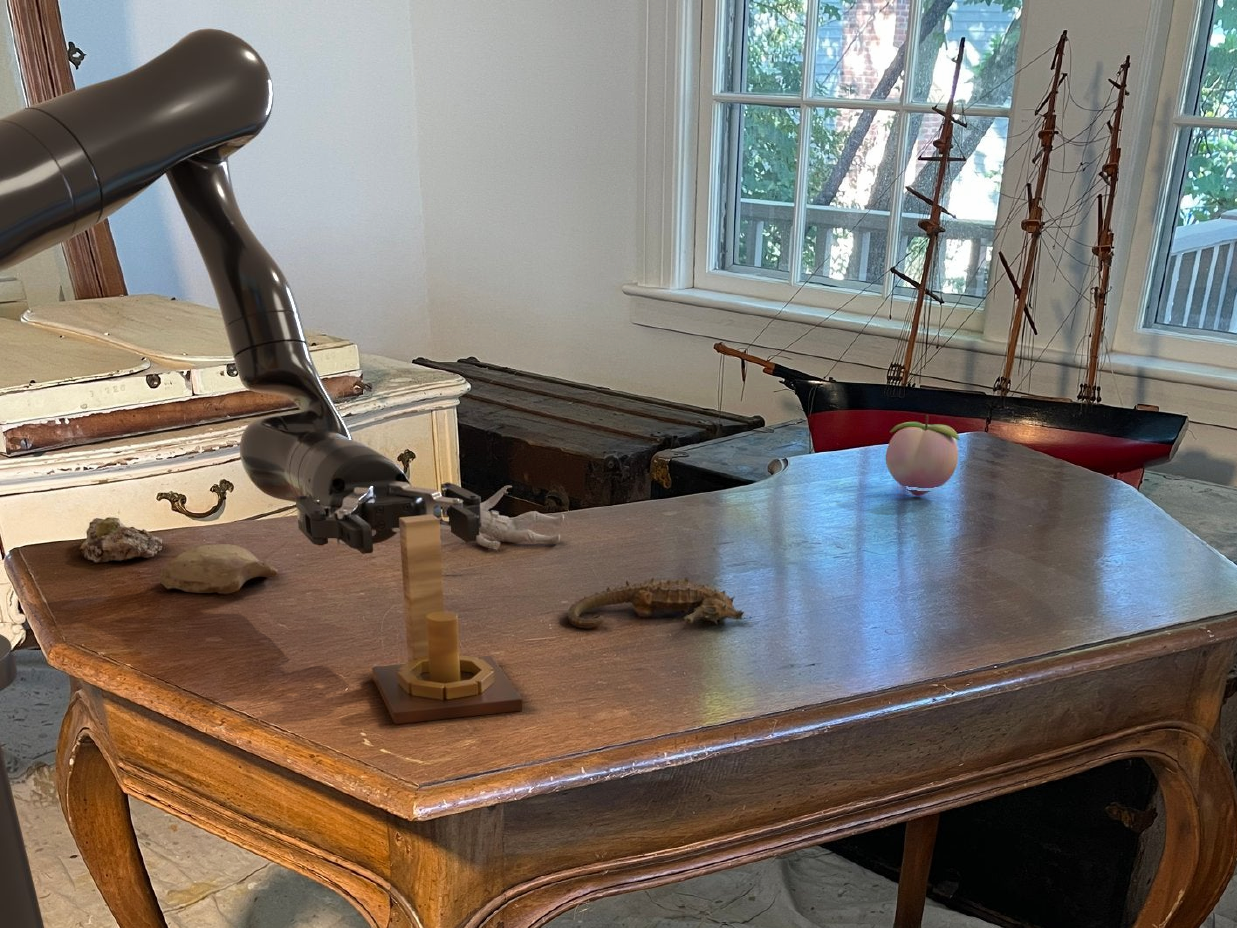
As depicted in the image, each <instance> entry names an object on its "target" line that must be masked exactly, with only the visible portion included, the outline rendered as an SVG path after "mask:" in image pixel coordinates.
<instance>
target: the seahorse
mask: <svg viewBox="0 0 1237 928" xmlns="http://www.w3.org/2000/svg"><path fill="white" fill-rule="evenodd" d="M625 584H626V585H621V586H620V587H614V588H612V587H610V586H607V587H606V590H602V591H600V592H598V591H596V592H595V593H594V594H590V595H589V596H585V595H584V596H583V598H581V599H579V600H578V601H575V603H572V604H571V606H570V607H569V609H568V611H567V618H568V621H569V623H570V625H571V626H574V627H576V628H581V629H582V628H584V629H591V628H595V627H597V626H600V625H602V624H603V623H604V622H605V617H604V615H602V614H595V615H593V616H592V617H591V618H582V617H580V616H581V614H583V613H585V612H587V611H590V610H592V609H595V608H598V607H605V606H611V605H618V604H620V605H623V604H628V603H629V604H632V605H633V608H632V610H633V611H634V612H635V613H636V614H637V615H638V617H641V618H643V617H644V618H645V617H650V616H652V615H653V614H655V613H656V612H659V611H660V610H664V611H665V612H666V613H669V612H670V611H675V612H676V613H678V612H681V611H684V612H685V613H688V612H689V611H690V610H693V612H692V613H690V614H686V615H685V616H684V617H683V620H684V622H685V624H687V625H689V624H692V623H693V622H694V621H696V620H699V619H701V620H703V621H704V620H705V621H711V622H714V623H715V624H716V625H718V620H720V623H721V624H723V623H724V620H725V619H727V618H729V619H732V620H738V621H739V620H743V615H744V613H745V612H744V611H742V609H741V610H736V609H735V606H734V604H733V603H734V599H735V597H736V596H732V597H730V596H728V595H727V594H726V589H724V590H722V591H719V590H718V589H716V588H711V587H709V584H708V583H707V584H705V585H704V584H702V585H701V584H698V583H697V582H694V583H693V582H691V581H690V579H689V578H688V577H687V576H686V577H685V578H684V580H679V579H677V580H675V581H673V580H671V579H668V580H663V579H661V580H656V579H655V578H654V577H652V578H651V580H650V581H648V580H645V581H644V582H640V583H634V584H631V583H630V582H629V581H628V580H626V581H625Z"/></svg>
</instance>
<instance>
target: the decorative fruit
mask: <svg viewBox="0 0 1237 928" xmlns="http://www.w3.org/2000/svg"><path fill="white" fill-rule="evenodd" d="M895 431H897V432H896V433H894V435H893V436H892V437H891V438H890V440H889V442H888V445H887V448H886V452H885V464H886V468H887V470H888V472H889V474H890V475H891V477H892V478H893V479H894V481H896V482H897V484H898V485H900V486H901V485H902V486H901V487H903V486H908V487H918V488H934V487H939V486H940V487H942V486H943V485H944V484H946V483H947V482H948V481H949V480H950V479H951V478H952V477H953V475H954V473H955V471H956V469H957V466H958V461H959V445H958V442H957V441H961V439H960V436H959V434H958V432H957V431H955V429H954V428H952V427H951V426H949V425H947V424H940V423H937V424H929V415H928V414H927V415H925V423H924V424H923V423H921V422H919V421H907V422H903V423H899V424H897V425H895V426H894V427H893V428H892V429H891V430H890V431H889V433H893V432H895ZM940 487H939V488H940ZM904 489H905V490H907V491H908V492H910V493H911V494H912V495H914V496H916V497H920V496H923V495H925V494H928V493H929V492H931V491H917V490H908V489H906V488H904Z"/></svg>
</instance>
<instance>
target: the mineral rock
mask: <svg viewBox="0 0 1237 928" xmlns="http://www.w3.org/2000/svg"><path fill="white" fill-rule="evenodd" d="M85 533H86V539H85V541H83V542H82V544H81V545H80V546H79V548H78V551H79V552H81V555H83V556H82V557H83V558H85V559H87V560H88V561H93V562H94V563H96V564H97V563H106V562H109V561H116V562H121V561H127V560H130V559H135V558H140V557H142V558H144V559H145V558H146V559H148V558H152V557H155V555H157V554H158V552H160V551H161V550H162V549H163V546H162V545H163V539H162V538H160V537H158V536H155V535H153V534H152V533H151V532H150V531H148V530H146V529H144V528H142V529H138V528H135V526H126V525H125V524H123V522H121V520H120V518H119V517H113V516H112V517H111V516H108V517H105V518H98V517H96V518H93V519H92V521H89V524H88V528H87V529H86V531H85Z"/></svg>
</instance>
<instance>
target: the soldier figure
mask: <svg viewBox="0 0 1237 928" xmlns="http://www.w3.org/2000/svg"><path fill="white" fill-rule="evenodd" d="M510 488H513V486H512V485H505V486H504V487H502V488H501V489H500V490H499V489H498V491H497V492H496V493H494V494H493V495H492V496H490V497H489V498H488V499H486V500H485V501H483V502H481V503H480V510H481V525H482V527H480V528H479V535H477V536H476V541H475V542H476V543H477V544H478V545H479V546H482V547H484V548H487V549H492V550H493V549H494V550H496V551H498V549H499V548H500V546H501V542H500V541H502V542H505V543H507V542H508V543H521V542H529V543H533V544H536V543H547V542H549V543H552V544H555V545H557V544H559V542H560V540H561V534H560V533H559V534H556V535H543V534H540V533H536V532H535V531H533V530H531V529H527V528H526V529H524V528H525V527H527V526H531V525H532V524H535V523H536V524H554V525H556V527H557V526H558V527H561V526H562V524H563V523H564V519H565V514H564V513H562V514H561V515H559V516H557V517H554V516H550V515H545V514H543V513H540V512H538V511H536V510H534V511H528V512H524V513H521V514H520V515H517V516H515V517H513V518H512V519H510V517H509V516H507V515H500V511H497V510H490V509H492V508H493V507H495V506H496V505H497V504H498V502H499V501H500V500H501V498H502V497H503V496H504V494H509V492H508V491H507V489H510ZM483 534H484V535H487V536H488V537H490V538H495V539H497V540H500V541H497V540H493V541H490V540H489V539H487V538H485V537H484V535H483Z"/></svg>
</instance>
